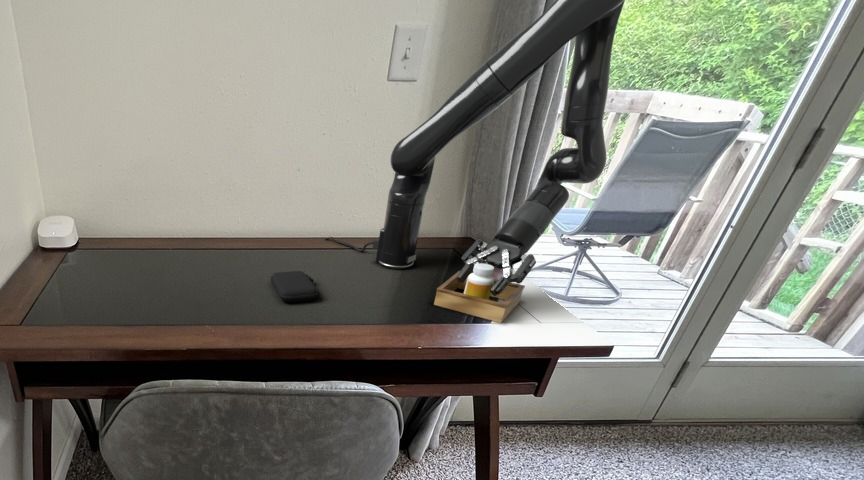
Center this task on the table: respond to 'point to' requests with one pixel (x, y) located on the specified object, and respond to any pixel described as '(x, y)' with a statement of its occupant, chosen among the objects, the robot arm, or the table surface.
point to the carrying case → (294, 286)
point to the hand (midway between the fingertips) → (475, 287)
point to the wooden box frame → (478, 300)
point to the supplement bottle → (480, 281)
